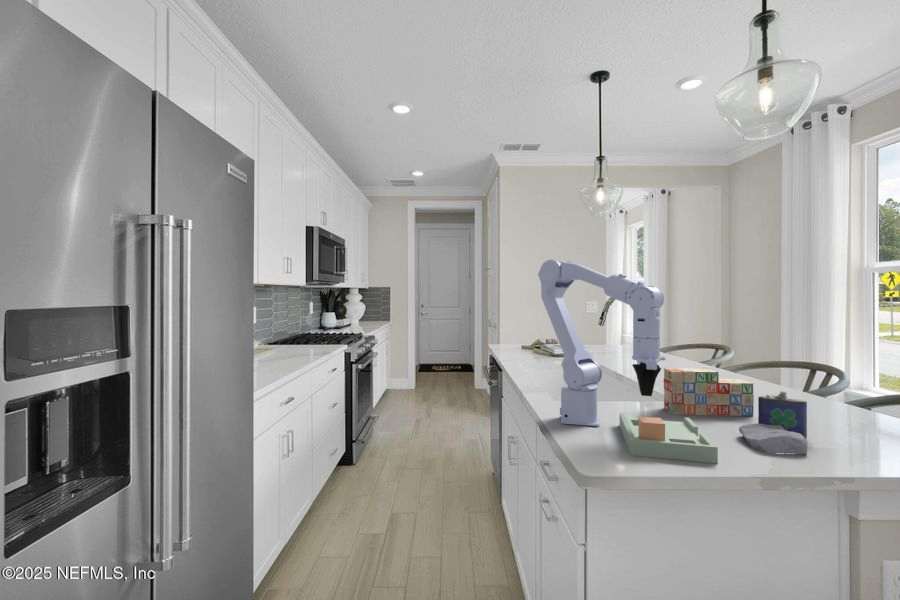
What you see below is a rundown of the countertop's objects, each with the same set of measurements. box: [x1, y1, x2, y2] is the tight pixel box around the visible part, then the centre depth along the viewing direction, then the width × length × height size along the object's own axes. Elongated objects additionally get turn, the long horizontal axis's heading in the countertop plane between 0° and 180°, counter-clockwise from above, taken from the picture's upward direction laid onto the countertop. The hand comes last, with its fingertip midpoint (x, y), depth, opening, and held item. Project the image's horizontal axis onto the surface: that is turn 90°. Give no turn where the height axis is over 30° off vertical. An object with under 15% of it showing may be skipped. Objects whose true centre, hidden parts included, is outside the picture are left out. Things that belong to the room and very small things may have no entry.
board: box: [619, 412, 719, 464], centre depth 96 cm, size 16×21×3 cm
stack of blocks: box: [663, 367, 755, 417], centre depth 120 cm, size 21×6×12 cm, turn 83°
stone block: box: [738, 422, 808, 455], centre depth 94 cm, size 12×5×10 cm
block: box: [638, 416, 665, 441], centre depth 91 cm, size 4×4×4 cm
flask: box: [757, 390, 808, 439], centre depth 100 cm, size 9×3×11 cm, turn 62°
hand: (646, 395), depth 99 cm, fingers closed
